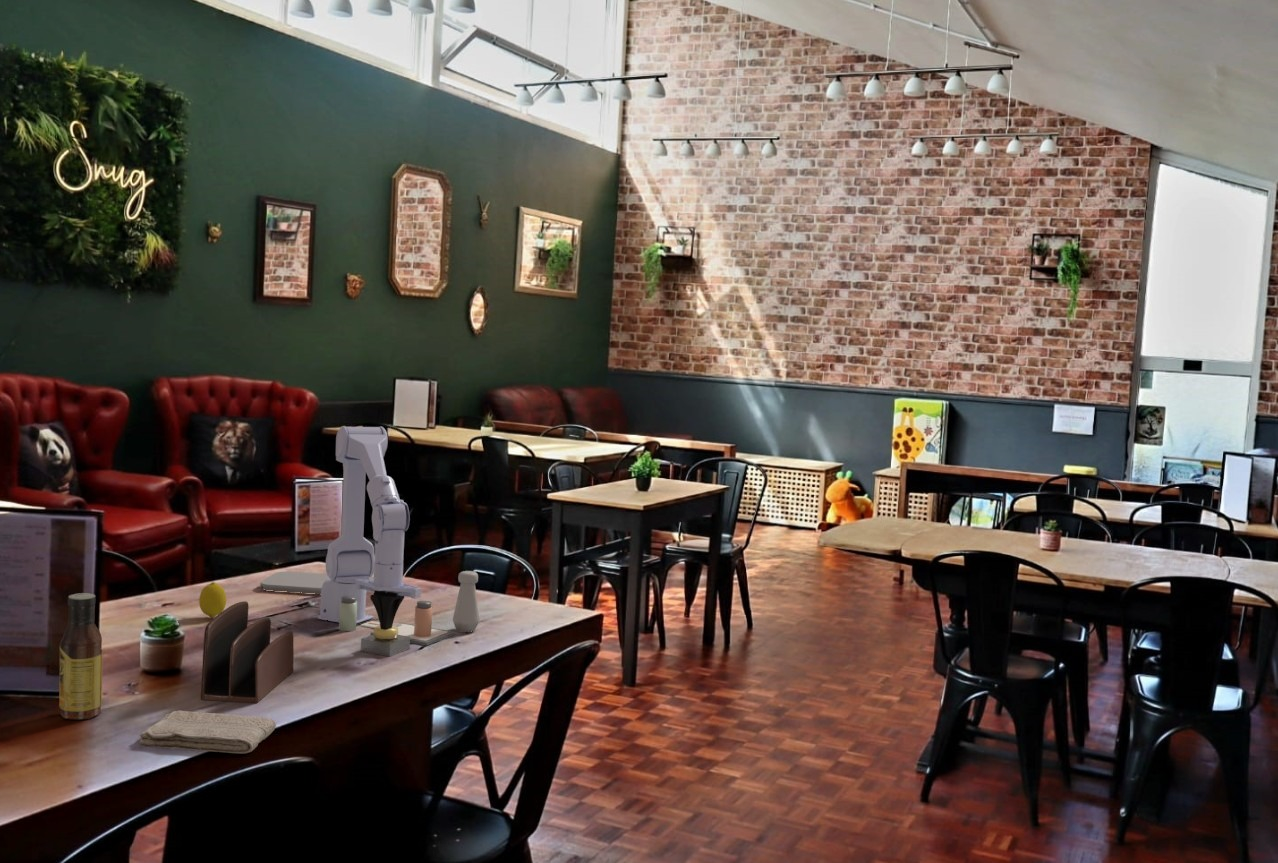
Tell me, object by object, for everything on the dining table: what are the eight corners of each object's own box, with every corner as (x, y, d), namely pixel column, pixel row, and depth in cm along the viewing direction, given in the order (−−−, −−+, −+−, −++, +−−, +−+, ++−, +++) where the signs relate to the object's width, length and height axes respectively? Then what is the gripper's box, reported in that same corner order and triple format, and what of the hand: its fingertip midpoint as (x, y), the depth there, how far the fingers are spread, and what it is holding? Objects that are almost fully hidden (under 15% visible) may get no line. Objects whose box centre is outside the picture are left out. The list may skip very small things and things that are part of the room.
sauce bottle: (68, 708, 193) (70, 589, 192) (107, 709, 194) (110, 591, 192) (51, 721, 187) (53, 598, 185) (92, 722, 187) (95, 600, 186)
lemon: (193, 619, 255) (194, 582, 254) (211, 614, 260) (212, 578, 259) (213, 622, 253) (214, 586, 252) (231, 617, 258) (232, 581, 257)
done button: (368, 646, 238) (369, 629, 237) (382, 641, 242) (383, 624, 242) (388, 650, 236) (389, 632, 235) (402, 645, 240) (402, 627, 240)
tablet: (362, 600, 283) (362, 590, 283) (256, 593, 284) (256, 583, 284) (380, 586, 299) (380, 577, 299) (279, 579, 300) (279, 570, 300)
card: (360, 625, 257) (360, 624, 257) (371, 622, 261) (371, 620, 260) (379, 629, 255) (379, 627, 255) (390, 625, 259) (390, 623, 259)
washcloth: (168, 724, 190) (169, 705, 190) (278, 731, 190) (279, 712, 189) (134, 749, 178) (135, 729, 178) (251, 757, 178) (252, 737, 177)
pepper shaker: (410, 635, 248) (412, 603, 248) (418, 631, 252) (420, 599, 251) (426, 637, 247) (427, 605, 247) (434, 633, 251) (435, 601, 250)
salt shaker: (473, 634, 255) (476, 575, 254) (448, 631, 256) (451, 573, 255) (482, 628, 260) (485, 570, 260) (458, 625, 262) (460, 568, 261)
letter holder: (199, 701, 201) (202, 620, 200) (241, 669, 221) (243, 595, 220) (257, 704, 201) (260, 624, 200) (294, 672, 221) (296, 598, 220)
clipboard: (368, 635, 249) (369, 630, 249) (398, 624, 260) (398, 619, 259) (426, 645, 244) (426, 640, 244) (454, 634, 254) (455, 629, 254)
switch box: (360, 651, 237) (361, 638, 237) (381, 643, 244) (381, 631, 243) (389, 656, 234) (390, 644, 234) (409, 648, 241) (410, 636, 241)
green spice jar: (335, 629, 252) (336, 597, 252) (345, 626, 256) (346, 594, 255) (349, 632, 251) (350, 600, 250) (359, 628, 254) (360, 597, 254)
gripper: (347, 560, 237) (344, 627, 238) (407, 570, 231) (405, 637, 232) (368, 555, 243) (365, 620, 244) (427, 564, 238) (424, 630, 239)
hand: (386, 628), depth 239 cm, fingers closed, pressing on done button
